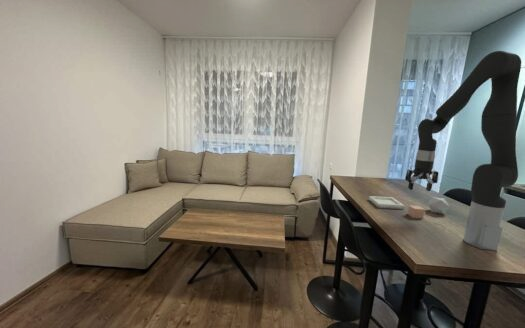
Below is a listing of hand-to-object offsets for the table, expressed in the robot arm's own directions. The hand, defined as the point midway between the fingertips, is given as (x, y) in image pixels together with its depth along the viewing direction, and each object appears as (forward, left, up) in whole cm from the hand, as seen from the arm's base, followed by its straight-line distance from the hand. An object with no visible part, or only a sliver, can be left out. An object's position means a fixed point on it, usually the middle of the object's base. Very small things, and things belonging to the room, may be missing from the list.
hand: (419, 190), depth 113 cm
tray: (+16, +8, -14) cm, 23 cm away
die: (+8, -16, -15) cm, 23 cm away
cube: (0, 0, -14) cm, 14 cm away
